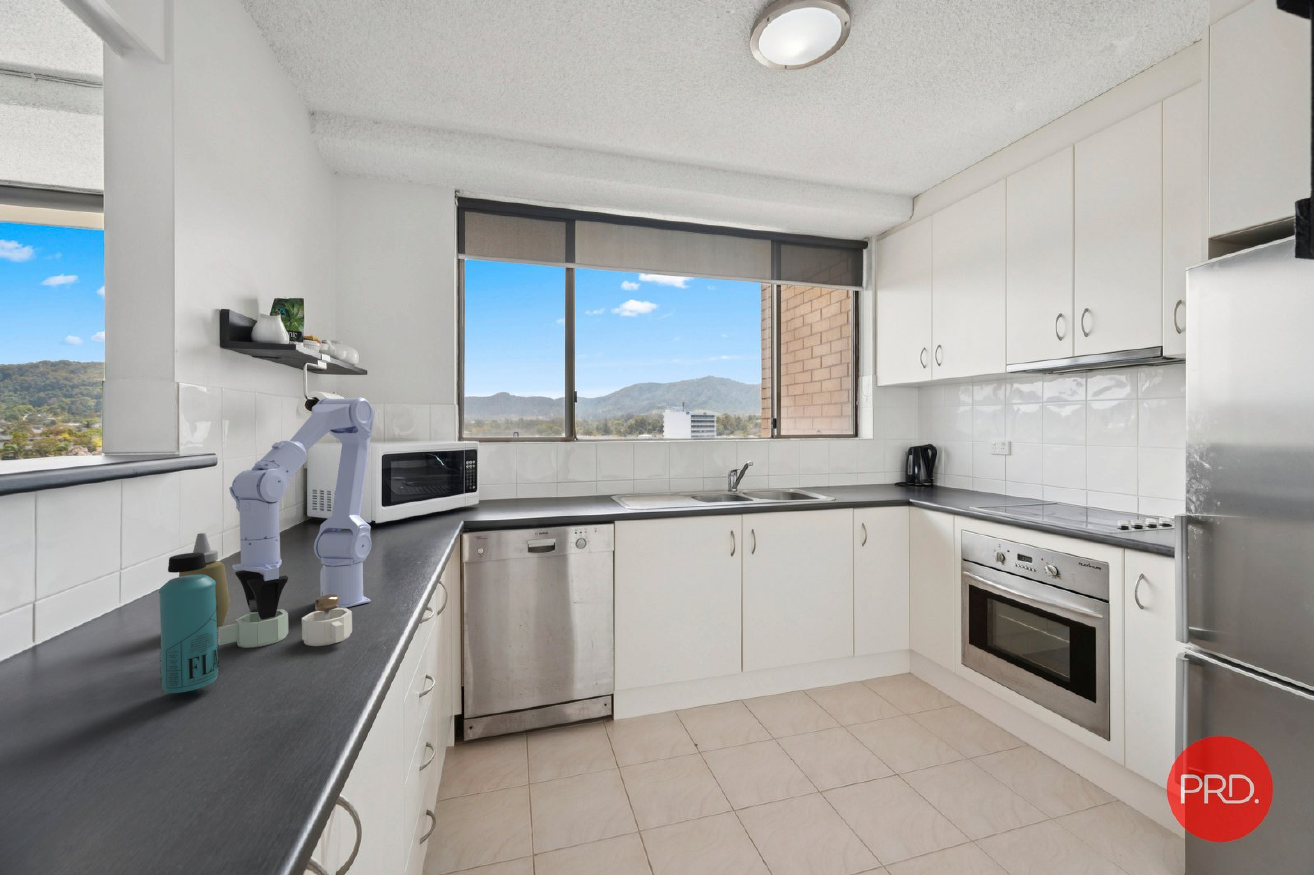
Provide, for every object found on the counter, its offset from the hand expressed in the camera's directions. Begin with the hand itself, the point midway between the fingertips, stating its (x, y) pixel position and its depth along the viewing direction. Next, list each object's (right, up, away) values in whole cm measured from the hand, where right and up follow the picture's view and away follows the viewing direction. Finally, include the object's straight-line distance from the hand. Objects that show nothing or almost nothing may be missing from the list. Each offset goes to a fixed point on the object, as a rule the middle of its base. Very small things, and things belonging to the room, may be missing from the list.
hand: (262, 612), depth 98 cm
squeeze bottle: (-15, -5, +6) cm, 17 cm away
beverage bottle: (+4, -6, -20) cm, 21 cm away
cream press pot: (+12, -5, 0) cm, 13 cm away
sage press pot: (-1, -5, -1) cm, 5 cm away
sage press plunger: (0, -4, 0) cm, 4 cm away
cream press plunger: (+11, -4, +1) cm, 12 cm away
